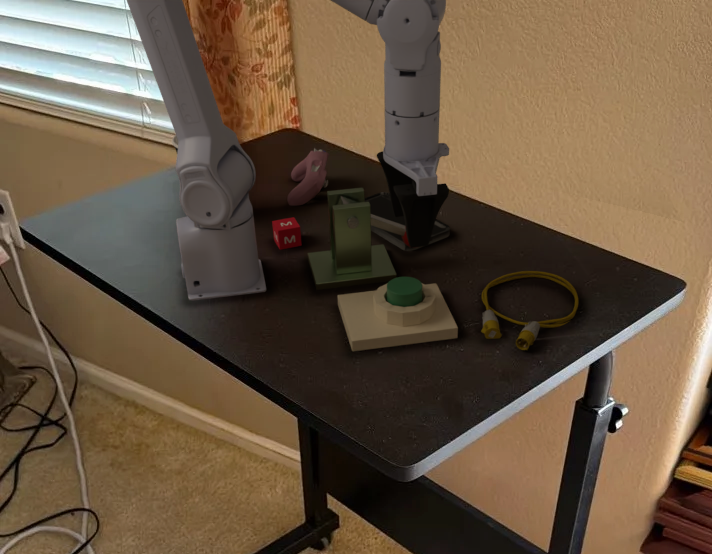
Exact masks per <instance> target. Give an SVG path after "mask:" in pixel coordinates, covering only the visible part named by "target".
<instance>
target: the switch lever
mask: <svg viewBox="0 0 712 554" xmlns="http://www.w3.org/2000/svg"><path fill="white" fill-rule="evenodd" d="M353 203H360V202H357V201H354V200H351V199H348V198H345V197H343V196H341V197H340V199H339V202H338V204H337V205H343V204H353ZM371 226H374V227H377V228H380V229H383V230H386V231H389V232H392V233H395V234H398V235H401V236H402V239H403V242H404V243H405V244H406V245H407V246H409V247H410V245H409V242H408V239H407V234H406V227H405V226H404V225H401V224H399V223H396V222H393V221H390V220H387V219H384V218H381V217H378V216H375V215H372V214H371ZM414 248H417V247H414Z"/></svg>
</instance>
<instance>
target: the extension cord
mask: <svg viewBox="0 0 712 554" xmlns="http://www.w3.org/2000/svg"><path fill="white" fill-rule="evenodd" d="M525 278H539V279H540V278H541V279H546V280H549V281H550V280H551V281H553V282H555V283H557V284H559V285H561V286H563V287H565V289H567V290H568V291H569V292H570V293H571V294H572V295H573V298H574V304H573V305H574V306H573V309H572V312H570V313H569V314H568V315H567V316H564V317H560V318H553V319H547V320H540V321H536V320H534V321H531V320H529V321H527V322H524V321H519V320H515V319H513V318H510V317H509V316H505V315H503V314H502V313H500V312H498V311H496V310H495V309H494V308H493V307H491V306H490V305H489V301H488V290H489V289H490V288H492V287H495V286H497V285H500V284H503V283H507V282H509V281H513V280H519V279H525ZM481 301H482V303H483V305H484V306H485V309H486V310H485V311H484V312H482V317H481V318H482V329H481V330H480V333H482V334H483V335H484V337H485V339H486V340H491V339H492V340H493V339H494V340H495V339H501V337H502V335H503V334H502V333H501V330H500V324H499V323H500V322H499V320H498V317H499V318H502V319H503V320H505V321H507V322H510V323H513V324H516V325H519V326H524V327H523V328H522V330H521V331H520V332H519V334H518V337H517V339H516V340H515V346H516V347H517V349H519V350H521V351H528V350H529V349H530V346H533V345H534V342H535V341H536V340H537V337H538V336H539V331H540V329H541V328H547V329H552V328H553V329H555V328H559V327H561V326H564V325H566V324H568V323H570V322H571V319H573V318H574V317H575V316H576V313H577V310H578V307H579V296H578V293H577V290H576V289H575V287H574V286H573V284H572V283H571V282H570V281H568V280H567V278H564V277H562V276H560V275H557V274H555V273H550V272H547V271H540V270H523V271H515V272H510V273H507V274H504V275H501V276H499V277H497V278H495V279H493V280H491V281H490V282H489V283H488V284H486V286H485V287H484V288H483V290H482V292H481Z"/></svg>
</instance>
